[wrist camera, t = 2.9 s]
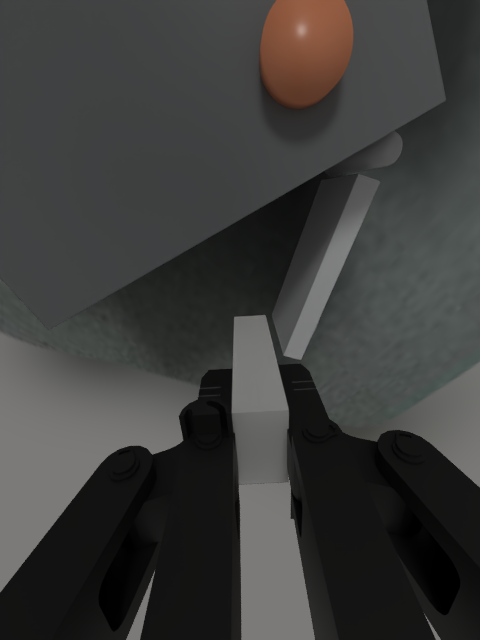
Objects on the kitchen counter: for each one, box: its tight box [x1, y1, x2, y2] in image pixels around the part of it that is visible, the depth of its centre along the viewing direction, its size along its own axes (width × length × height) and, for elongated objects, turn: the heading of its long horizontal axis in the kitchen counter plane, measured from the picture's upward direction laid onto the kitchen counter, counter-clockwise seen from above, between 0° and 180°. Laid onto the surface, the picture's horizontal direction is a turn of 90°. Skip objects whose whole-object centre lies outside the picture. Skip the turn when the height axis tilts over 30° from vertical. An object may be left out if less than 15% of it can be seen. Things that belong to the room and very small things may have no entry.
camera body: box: [0, 0, 446, 330], centre depth 12 cm, size 15×19×10 cm
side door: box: [272, 174, 380, 360], centre depth 16 cm, size 9×2×6 cm, turn 164°
